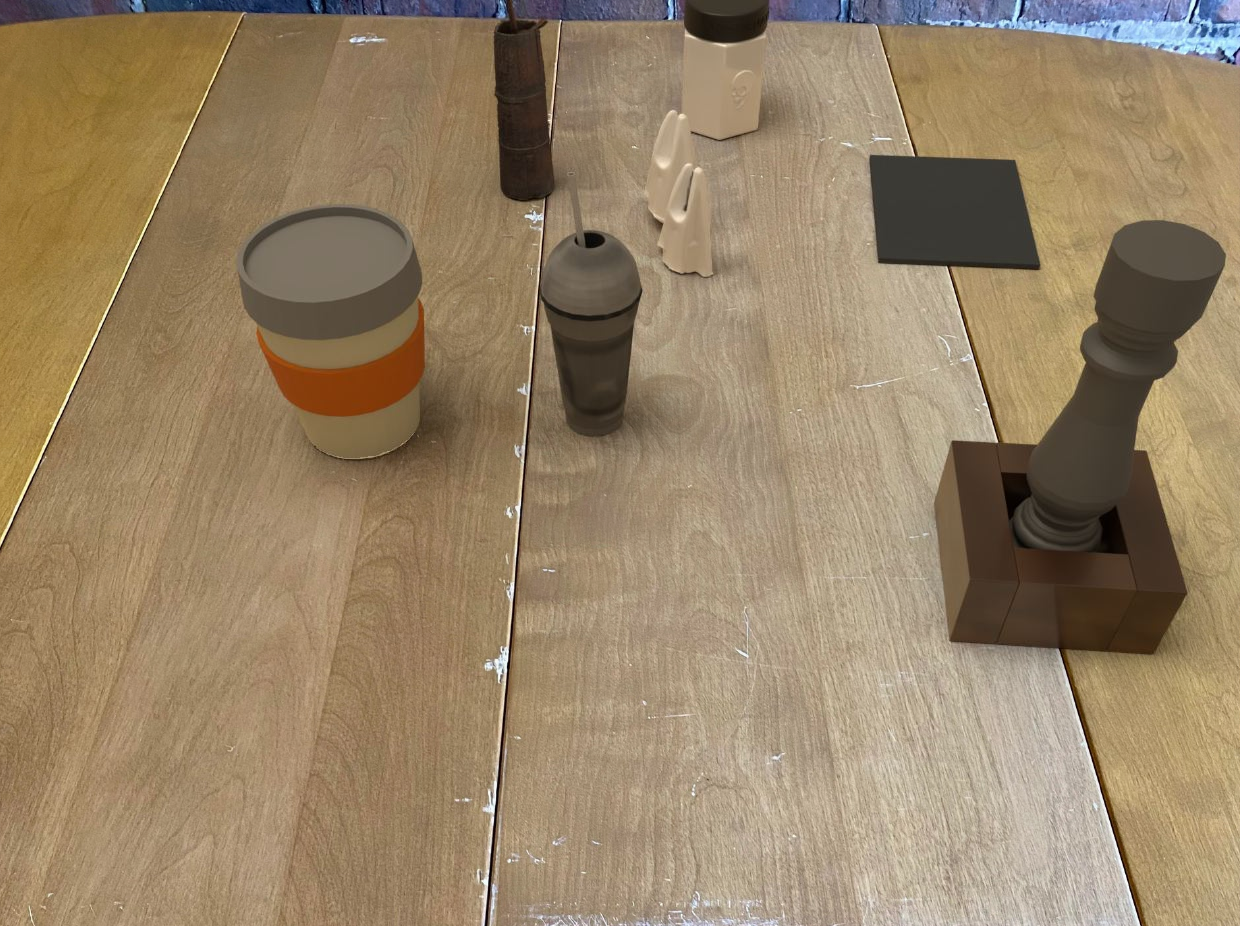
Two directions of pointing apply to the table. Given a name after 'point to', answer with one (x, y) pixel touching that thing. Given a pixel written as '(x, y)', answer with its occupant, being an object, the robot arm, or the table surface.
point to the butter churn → (522, 109)
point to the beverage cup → (591, 323)
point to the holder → (1051, 562)
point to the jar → (723, 65)
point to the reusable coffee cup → (340, 322)
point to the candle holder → (1116, 380)
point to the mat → (951, 212)
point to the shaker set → (680, 199)
